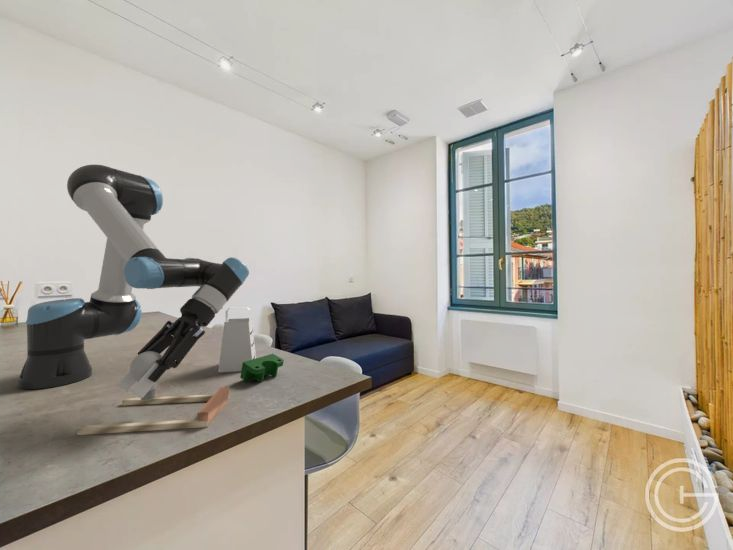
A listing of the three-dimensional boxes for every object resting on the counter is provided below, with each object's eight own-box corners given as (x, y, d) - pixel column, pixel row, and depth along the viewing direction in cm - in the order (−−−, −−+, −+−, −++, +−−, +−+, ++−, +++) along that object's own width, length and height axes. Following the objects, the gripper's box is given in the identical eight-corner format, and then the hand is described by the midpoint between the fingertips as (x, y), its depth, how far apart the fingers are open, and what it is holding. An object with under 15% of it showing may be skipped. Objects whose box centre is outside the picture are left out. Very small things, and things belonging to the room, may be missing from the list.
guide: (77, 435, 59) (77, 419, 59) (125, 403, 73) (125, 391, 73) (207, 427, 62) (207, 412, 62) (229, 398, 77) (229, 386, 77)
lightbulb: (171, 397, 69) (170, 349, 69) (143, 409, 63) (143, 356, 63) (152, 393, 71) (151, 347, 71) (123, 404, 65) (123, 353, 65)
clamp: (256, 397, 88) (250, 374, 84) (243, 388, 91) (237, 365, 87) (287, 372, 97) (283, 350, 92) (275, 364, 100) (270, 342, 95)
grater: (225, 362, 106) (225, 306, 106) (256, 360, 109) (256, 305, 109) (218, 372, 96) (218, 309, 96) (253, 370, 99) (253, 309, 99)
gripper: (236, 318, 75) (165, 409, 61) (192, 313, 85) (123, 390, 71) (216, 298, 71) (135, 392, 57) (172, 295, 80) (94, 374, 66)
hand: (128, 391), depth 64 cm, fingers closed on lightbulb, 6 cm apart
